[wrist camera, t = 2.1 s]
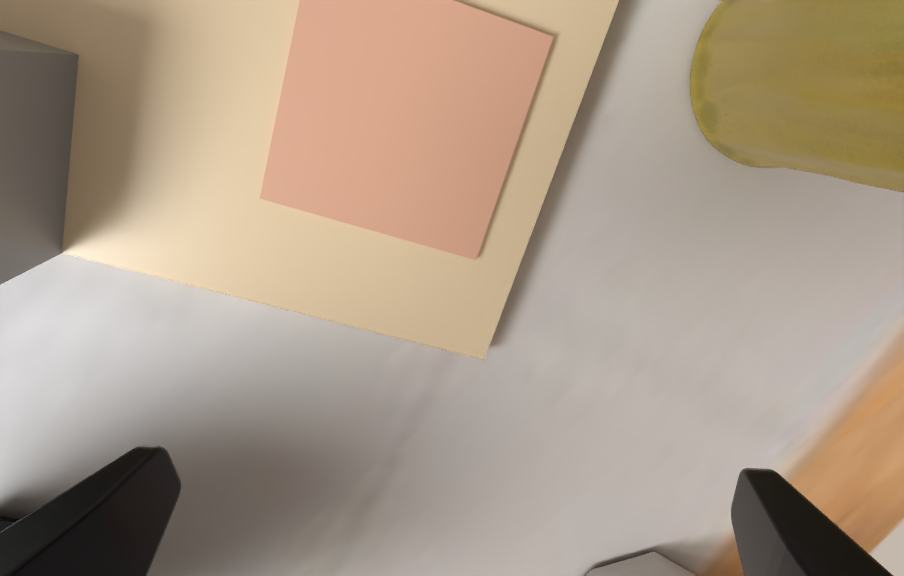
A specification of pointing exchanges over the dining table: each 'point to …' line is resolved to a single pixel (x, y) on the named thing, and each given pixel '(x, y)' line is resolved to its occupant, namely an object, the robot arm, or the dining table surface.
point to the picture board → (322, 147)
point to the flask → (642, 567)
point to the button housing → (33, 150)
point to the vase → (805, 86)
